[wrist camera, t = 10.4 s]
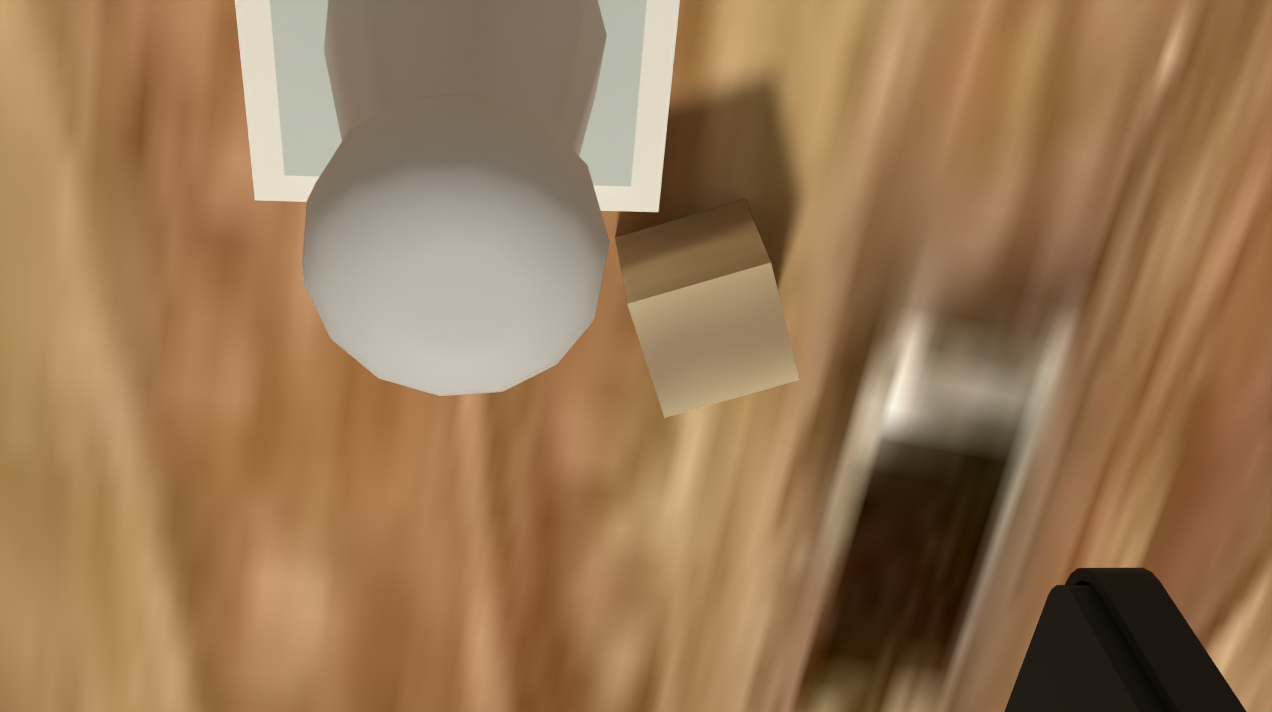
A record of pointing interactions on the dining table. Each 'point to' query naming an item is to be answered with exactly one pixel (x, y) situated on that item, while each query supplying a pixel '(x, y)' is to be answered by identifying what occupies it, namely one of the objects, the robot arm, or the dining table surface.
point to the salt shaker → (458, 189)
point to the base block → (309, 131)
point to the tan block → (706, 308)
